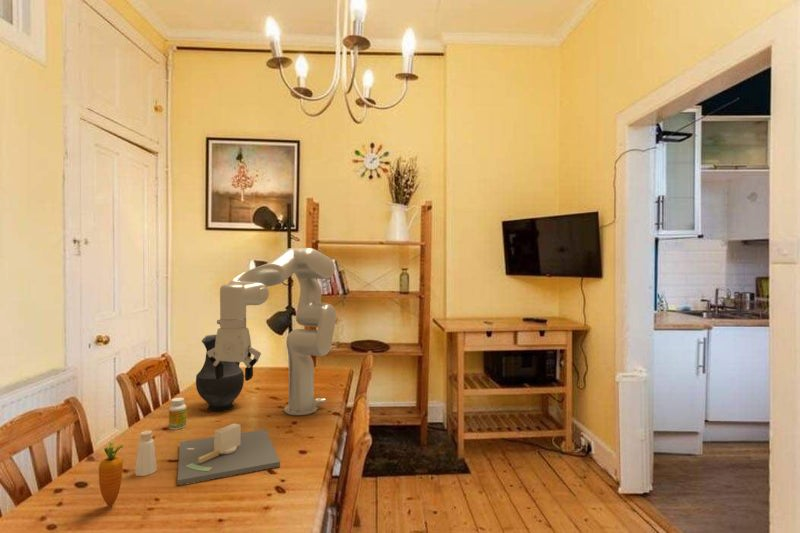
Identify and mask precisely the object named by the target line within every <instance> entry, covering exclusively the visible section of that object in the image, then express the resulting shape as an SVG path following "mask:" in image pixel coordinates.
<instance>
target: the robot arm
mask: <svg viewBox="0 0 800 533" xmlns="http://www.w3.org/2000/svg"><path fill="white" fill-rule="evenodd" d="M335 270H336V266H335V263H334V261H333V260H332V259H331V258H330V256H327V255H325V253H323V252H321V251H319V250H317V249H315V248H312V247H290V248H287V249H285V250H284V251H282V252H281V253H279V254H278V255H277V256H276V257H274V258H273V259H271V260H270V261H269V262H268V263H264V264H262V265H258V266H257V267H254V268H251V269H248V270H246V271H244V272H241V273H240V274H238V275H236V276H235V277H234V278H233V279H231V280H230V281H229V282H228V283H227V284H222V285H221V286H220V288H219V308H220V309H219V310H220V311H219V319H217V320H216V324H217V325H219V328H218V329H217V332H216V334H215V335H216V342H215V348H213V349H211V350H209V351H207V350H206V352H207V354H208V356H209V357H210V361H211V362H212V363H213V365H214V366H215V375H216V379H219V378H221V377H223V364H222V362H240V363H243V364H244V365H245V368H244V381H247V382H249V380H251V379H252V378H253V376H254V365H255V364H256V363H257V362H259V359H260V357H261V355H262V353H261V352H260V351H259V350H256V349H255V348H253V347H252V341H251V335H250V330H249V327H247V306H260V305H262V304H264V303H266V302H267V300H268V298H269V295H270V291H269V288H268V287H273V286H276V285H277V286H278V285H280V284H282V283H284V282H285V281H286V280H288V279H289V278H290V277H291V276H292V275H293V274H294V275H295V277H296V279H297V281H298V283H299V288H300V290H299V291H300V293H299V297H298V303H297V307H296V314H295V320H296V321H295V322H296V323H297V324H299V325H300V326H304V327H309V328H310V327H312V328H317V330H316V329H315V330H314V329H306V328H296V329H293V330H291V331H290V332H289V333H288V335H287V337H286V349H287V355H288V404H287V405H285V406H284V408H283V409H284V412H285V414H288V415H290V416H306V415H311V414H313V413H315V412H317V411H318V405H323V404H326V403H327V401H326V400H327V399H326V398H321V397H315V396H314V394H315V393H314V390H315V389H314V388H315V386H314V384H315V383H314V382H315V362H314V360H313V358H312V356H314V357H315V356H317V357H323V356H326V355H328V353H329V352H330V351H331V347H332V344H333V338H334V337H333V336H334V331H335V327H336V326H335V325H336V320H337V313H336V309H335V307H334V306H333V305H332V304H330V303H327V302H322V294H323V290H322V287H321V285H320V283H319V281H318V280H328V279H330V278H332V277H333V275H334V273H335ZM214 352H215V356H214ZM252 355H253V359H252V358H251V357H252Z"/></svg>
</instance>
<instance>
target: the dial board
mask: <svg viewBox="0 0 800 533" xmlns="http://www.w3.org/2000/svg"><path fill="white" fill-rule="evenodd" d="M213 451H214V436H212V437H205V438H197V439H191V440H190V439H189V440H184V441H183V440H182V441H179V449H178V463H177V464H178V465H177V466H178V468H177V484H176V485H181V486H184V485H183V484H186V485H188V484H187V483H191V484H194V483H193V482H197V483H199V482H198V481H202V482H204V481H203V480H207V481H209V480H208V479H213V478H218V479H220V478H219V477H223V478H226V477H225V476H229V477H231V476H230V475H234V476H237V475H236V474H239V475H243V474H242V473H245V474H248V473H247V472H250V473H253V472H252V471H256V472H259V471H258V470H261V471H264V470H263V469H266V470H270V469H269V468H272V469H275V468H274V467H277V468H280V467H281V461H280V458H279V456H278V454H277V452H276V450H275V447H274V444H273V442H272V440H271V438H270V435H269V433H268V431H267V429H259V430H251V431H246V432H241V444H240V445H239V446H237V447H236V451H235V452H233V453H231V454H220V453H219V455H218V456H216V457H213V458H211V459H209V460H207V461H205V462H203V463H199V462H198V458H199V457H201V456H204V455H206V454H208V453H210V452H213ZM213 480H214V479H213Z"/></svg>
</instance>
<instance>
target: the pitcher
mask: <svg viewBox="0 0 800 533" xmlns="http://www.w3.org/2000/svg"><path fill="white" fill-rule="evenodd" d="M216 335H217V334H206V335H205V336H204V337H203V338H202V339H201V343H202V344H203V346H204V347H205V349H206V353H205V358H204V360H205V361H204V363H203V366H202V368H201V369H200V371H199V372H198V373H197V374H196V376H195V386H196V392H197V393H198V395H199V397H201V399H202V400H204V401H205V402H206V403H207V404H208V406H207V408H206V410H207V411H208V412H211V413H221V412H222V413H223V412H226V411H229V410H232V409H233V408H235V405H234V404H233V402H235V400H236V399H237V398H238V397H239V396H240V394H241V392H242V391H243V390H242V389H244V384H245V382H244V381H245V372H244V371H243V369H242V368H241V367H240V363H241V362H222V364H223V377H221V378H219V379H216V375H215V366H214V365H213V363H212V362H211V361H210V357H209V356H208V354H207V351H209V350H211V349H213V348H215V342H216ZM214 356H215V352H214Z"/></svg>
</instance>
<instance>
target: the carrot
mask: <svg viewBox="0 0 800 533" xmlns="http://www.w3.org/2000/svg"><path fill="white" fill-rule="evenodd" d="M121 448H123V445H122V444H120V445H119V446H117V447H116V449H115V450H114V442H110V443H109V448H108V446H105V447H104V449H103V450H104V453H105V455H106V456H107V457H106V458H104V459H102V460H101V461H100V463H99V466H98V483H99V490H100V493H101V496H102V500H103V501H104V503H105V504H106V505H107V506H108V507H110V506H111V507H112V506H113V505H114V504H115V502H116V500H117V498H118V496H119V493H120V490H121V484H122V479H123V471H124V470H123V469H124V468H123V467H124V466H123V465H124V461H123V460H124V459H123V458H122V457H120V456H116V455H117V453H118V452H119V450H121Z"/></svg>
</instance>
